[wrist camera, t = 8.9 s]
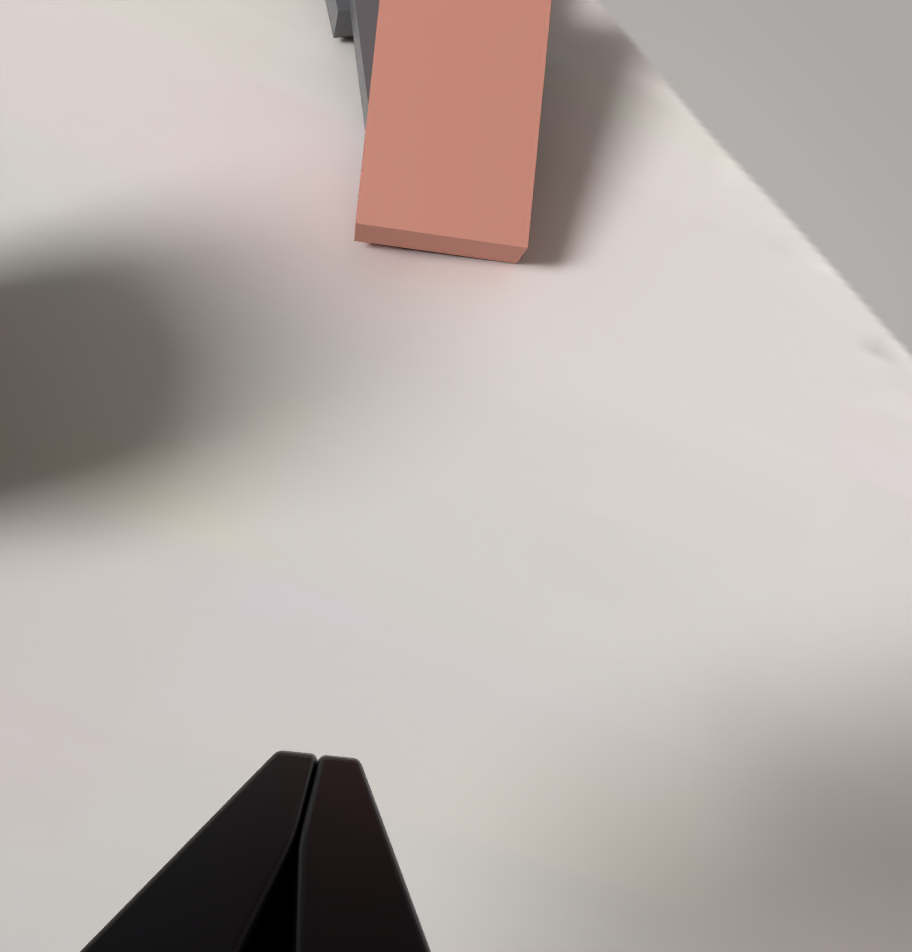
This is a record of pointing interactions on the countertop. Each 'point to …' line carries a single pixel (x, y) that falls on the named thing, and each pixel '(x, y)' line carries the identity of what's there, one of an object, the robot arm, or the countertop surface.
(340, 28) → the domino
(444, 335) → the countertop surface
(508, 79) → the domino
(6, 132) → the countertop surface
